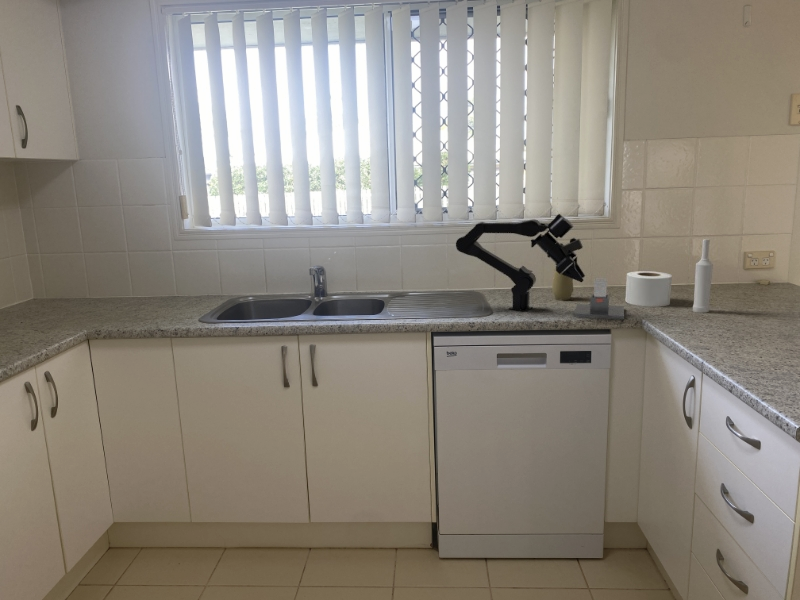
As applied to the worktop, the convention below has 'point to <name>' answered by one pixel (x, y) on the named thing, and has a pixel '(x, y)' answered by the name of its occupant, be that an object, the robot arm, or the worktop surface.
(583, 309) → the stand
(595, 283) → the column
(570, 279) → the squeeze bottle
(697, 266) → the bottle
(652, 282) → the white toilet paper roll
